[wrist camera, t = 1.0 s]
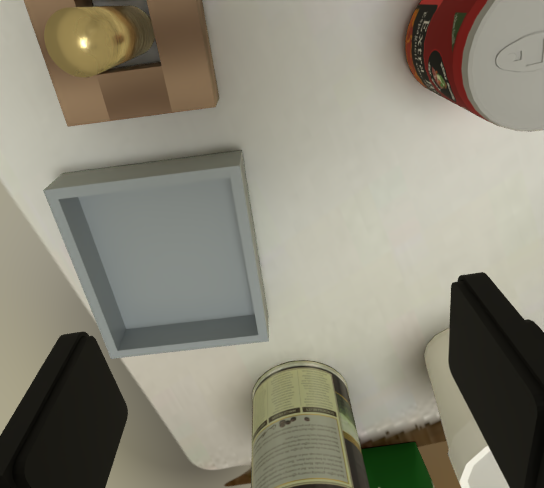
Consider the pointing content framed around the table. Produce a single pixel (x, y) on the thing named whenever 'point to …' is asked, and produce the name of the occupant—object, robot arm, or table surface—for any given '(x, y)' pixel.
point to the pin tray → (165, 253)
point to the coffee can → (304, 430)
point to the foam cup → (460, 423)
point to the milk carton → (396, 467)
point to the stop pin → (97, 37)
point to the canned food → (482, 57)
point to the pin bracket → (138, 68)
